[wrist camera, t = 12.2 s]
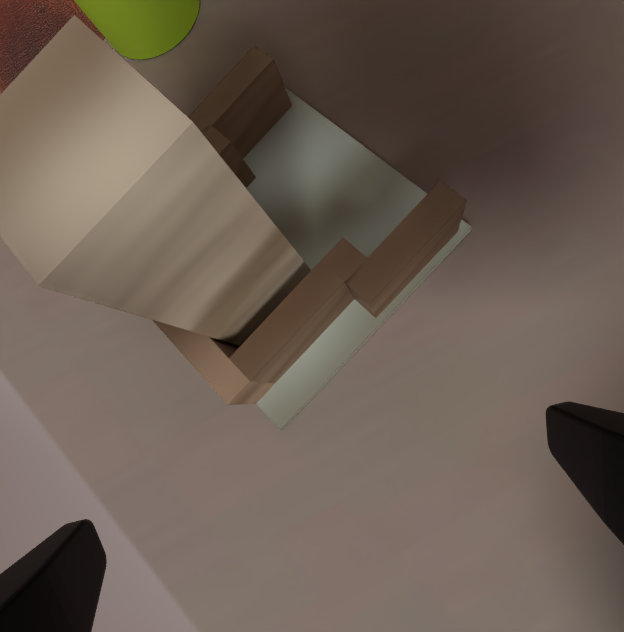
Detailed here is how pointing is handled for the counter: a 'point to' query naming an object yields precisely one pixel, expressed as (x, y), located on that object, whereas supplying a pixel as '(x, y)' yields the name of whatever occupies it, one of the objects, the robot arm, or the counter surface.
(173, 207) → the birch post
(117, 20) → the soap dispenser
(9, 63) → the wooden tablet
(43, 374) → the counter surface
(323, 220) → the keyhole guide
